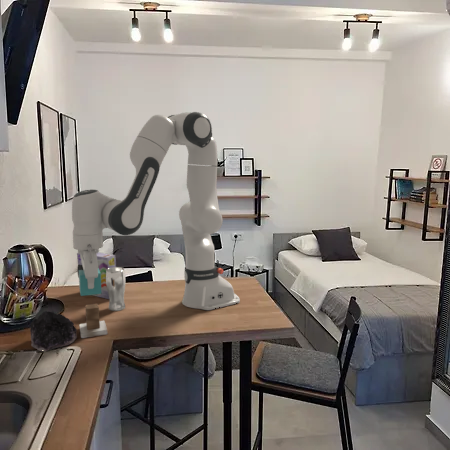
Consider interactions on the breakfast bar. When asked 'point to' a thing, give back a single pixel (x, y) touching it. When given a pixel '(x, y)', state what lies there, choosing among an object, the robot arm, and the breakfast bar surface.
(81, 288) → the turquoise cube
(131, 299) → the breakfast bar surface
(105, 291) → the cake pan box
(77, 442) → the breakfast bar surface
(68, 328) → the dark grey rock
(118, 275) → the beer glass
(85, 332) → the square base with post
